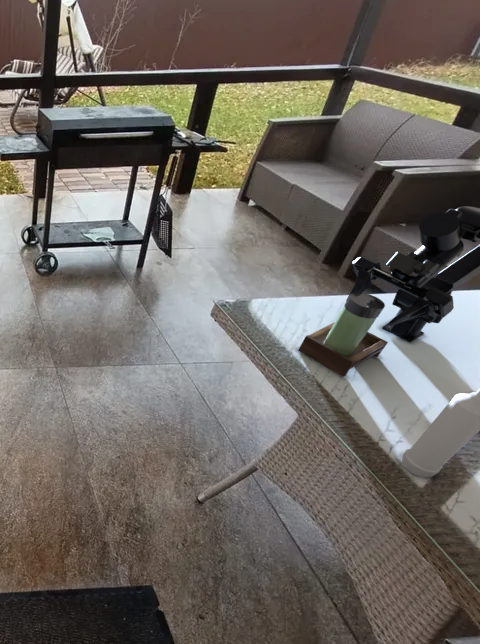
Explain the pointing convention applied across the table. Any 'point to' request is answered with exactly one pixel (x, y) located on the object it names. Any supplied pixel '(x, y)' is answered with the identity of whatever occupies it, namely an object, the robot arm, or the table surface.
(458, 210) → the robot arm
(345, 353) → the spice jar
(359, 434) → the table surface
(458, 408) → the bottle
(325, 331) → the wooden tray
